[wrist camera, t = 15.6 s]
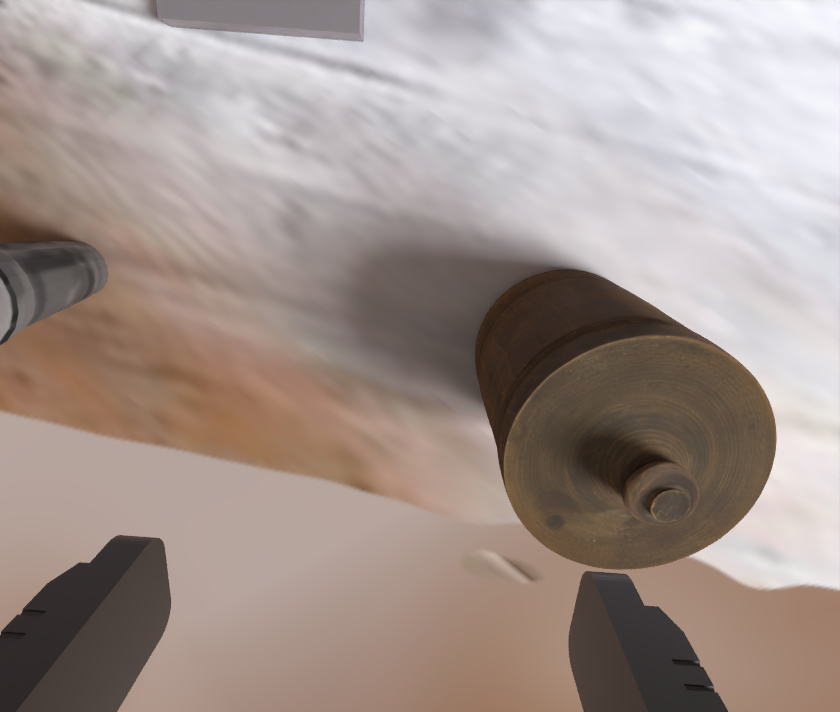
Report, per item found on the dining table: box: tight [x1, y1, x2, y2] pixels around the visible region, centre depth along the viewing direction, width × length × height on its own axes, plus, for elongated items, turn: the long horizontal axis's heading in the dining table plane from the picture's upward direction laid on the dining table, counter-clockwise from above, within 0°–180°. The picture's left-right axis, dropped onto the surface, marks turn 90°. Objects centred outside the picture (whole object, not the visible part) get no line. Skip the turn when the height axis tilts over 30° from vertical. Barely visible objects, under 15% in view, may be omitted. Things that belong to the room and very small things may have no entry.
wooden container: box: [475, 270, 776, 569], centre depth 33 cm, size 15×15×22 cm
